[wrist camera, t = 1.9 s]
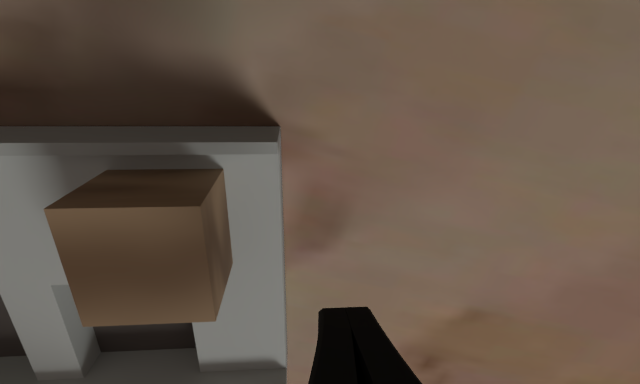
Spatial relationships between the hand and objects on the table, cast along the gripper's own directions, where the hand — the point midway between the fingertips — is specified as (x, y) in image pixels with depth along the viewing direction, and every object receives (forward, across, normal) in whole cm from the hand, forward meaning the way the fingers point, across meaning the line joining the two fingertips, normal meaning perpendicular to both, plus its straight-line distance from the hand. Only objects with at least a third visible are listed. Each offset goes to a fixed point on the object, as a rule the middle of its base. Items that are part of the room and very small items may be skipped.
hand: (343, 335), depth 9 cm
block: (+7, +7, 0) cm, 10 cm away
